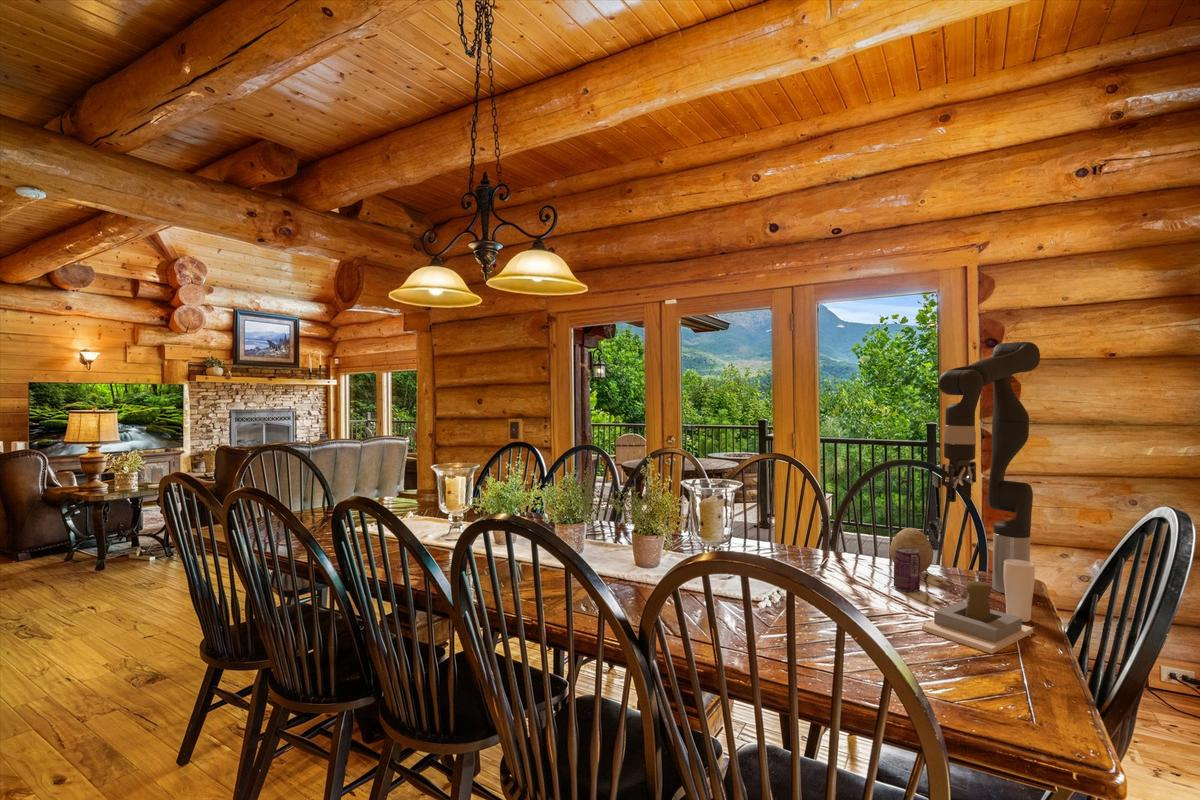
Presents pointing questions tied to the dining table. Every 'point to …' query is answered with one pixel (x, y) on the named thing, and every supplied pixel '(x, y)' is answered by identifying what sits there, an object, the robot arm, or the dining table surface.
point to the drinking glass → (1019, 587)
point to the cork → (978, 601)
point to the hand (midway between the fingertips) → (958, 500)
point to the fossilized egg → (914, 546)
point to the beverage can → (907, 569)
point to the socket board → (974, 639)
